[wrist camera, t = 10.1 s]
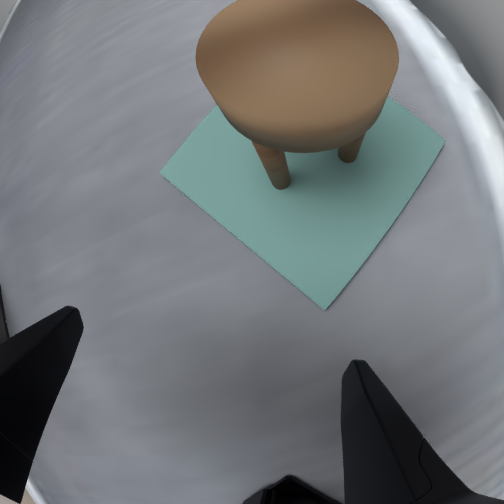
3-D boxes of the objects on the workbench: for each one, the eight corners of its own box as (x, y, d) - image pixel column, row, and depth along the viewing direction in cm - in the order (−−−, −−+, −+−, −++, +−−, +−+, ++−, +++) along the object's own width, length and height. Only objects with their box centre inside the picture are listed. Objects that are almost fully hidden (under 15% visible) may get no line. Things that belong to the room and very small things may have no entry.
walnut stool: (378, 177, 16) (438, 88, 7) (276, 218, 18) (234, 157, 8) (330, 91, 17) (332, -25, 8) (237, 126, 18) (177, 24, 9)
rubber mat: (442, 144, 16) (445, 140, 16) (324, 309, 17) (324, 310, 17) (284, 43, 19) (283, 39, 18) (163, 175, 20) (159, 173, 19)
